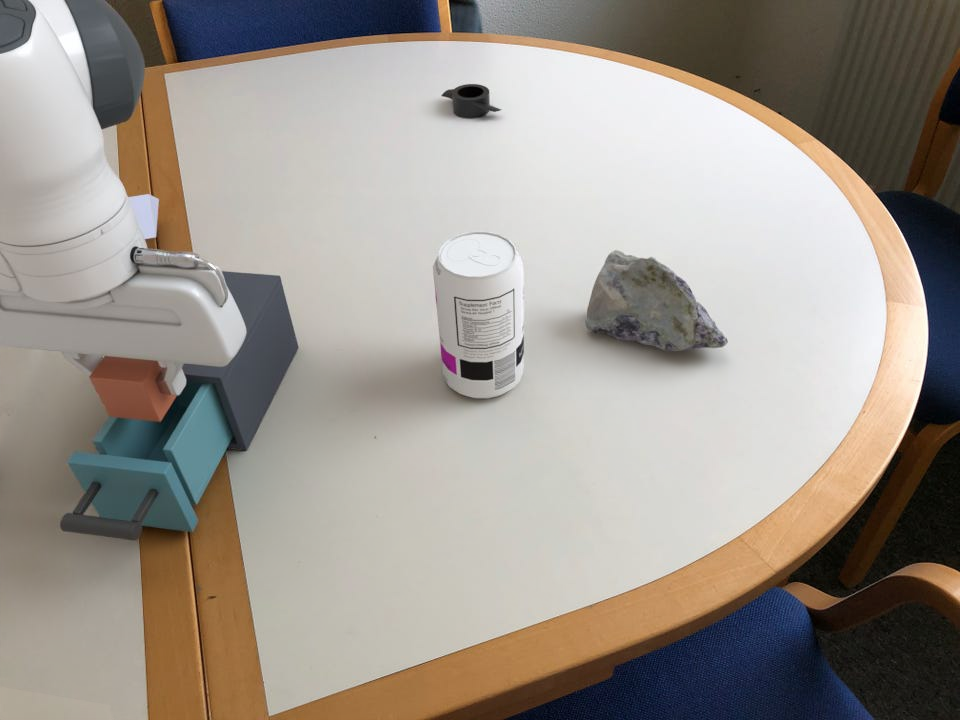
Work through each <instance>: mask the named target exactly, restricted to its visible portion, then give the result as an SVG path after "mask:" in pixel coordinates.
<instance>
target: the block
mask: <svg viewBox="0 0 960 720" xmlns="http://www.w3.org/2000/svg"><path fill="white" fill-rule="evenodd" d="M103 357H104V358H103V359H102V360H101V362H100V363H99V364H98V366H97V367H96V368H95V370H94V371H93V372H92V374H91V375H90V376H89V377H88V379H89V378H90V379H89V380H91V381H90V383H91V382H92V383H91V385H92V384H93V385H92V386H93V388H94V390H95V393H96V394H97V395H98V397H99V399H100V401H101V403H102V405H103V407H104V409H105V411H106V412H107V414H108V417H109V416H110V417H119V418H128V419H138V420H147V421H157V422H161V420H162V419H163V417H164V415H165V414H166V412H167V411H168V409H169V407H170V406H171V404H172V403H173V401H174V399H175V398H176V396H177V395H169V394H162V393H160V390H159V389H160V388H159V387H158V386H157V384H156V382H155V380H156V378H157V377H158V375H159V374H160V373H161V371H162V369H163V368H164V367H160V366H159V363H158V361H154V360H143V359H132V358H122V357H111V356H103Z"/></svg>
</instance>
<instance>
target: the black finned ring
mask: <svg viewBox="0 0 960 720" xmlns="http://www.w3.org/2000/svg"><path fill="white" fill-rule="evenodd" d="M441 97H444V98H448V99H451V103H452V112H453V114H454V115H455V116H457V117H459V118H463V119H476V118H477V119H478V118H481V117H484V116H486V115H487V114H489V113H490V112H493V113H496V112H499V111H502V109H501V108H498V107H495V106H493V105H491V101H490V89H489V88H488V87H487V86H485V85H482V84H480V83H479V84H478V83H468V84H467V83H465V84H462V85H458V86H457V87H455V88H451V89H447V90H445V91H444V92H443V93H442V94H441Z"/></svg>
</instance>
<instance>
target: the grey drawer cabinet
mask: <svg viewBox="0 0 960 720" xmlns="http://www.w3.org/2000/svg"><path fill="white" fill-rule="evenodd" d="M221 272H222V274H223V276H224V279H225V282H226V285H227V287H228V289H229V291H230V293H231V294H232V296H233V298H234V301H235V303H236V305H237V307H238V309H239V311H240V313H241V316H242V318H243V321H244V323H245V326H246V337H245V339H244V342H243V344H242V346H241V347H240V349H239V351H238V352H237V354H236V355H235V357H234V358H233V359H232V360H231V361H230V362H229V364H228V365H226V366H224V367H217V366H207V365H196V364H185V363H184V364H183V367H182V370H183V373H184V375H185V378H186V381H195V382H205V383H215V386H216V388H217V391H218V394H219V396H220V399H221V402H222V405H223V407H224V410H225V413H226V415H227V418H228V421H229V423H230V426H231V429H232V431H233V434H234V436H233V437H232V439H231V441H230V443H229V445H228V447H227V449H230V450H238V451H248V449H249V447H250V445H251V443H252V441H253V440H254V437H255V435H256V433H257V431H258V429H259V427H260V425H261V423H262V421H263V420H264V417H265V415H266V413H267V411H268V410H269V407H270V405H271V404H272V402H273V399H274V398H275V395H276V394H277V392H278V390H279V388H280V385H281V383H282V382H283V380H284V379H285V376H286V374H287V372H288V370H289V368H290V366H291V363H292V362H293V360H294V358H295V355H296V354H297V352H298V350H299V344H298V339H297V336H296V332H295V327H294V325H293V321H292V317H291V313H290V309H289V305H288V301H287V297H286V294H285V290H284V286H283V282H282V277H281V275H278V274H277V275H276V274H265V273H252V272H240V271H239V272H237V271H227V270H225V271H224V270H221Z"/></svg>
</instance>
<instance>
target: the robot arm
mask: <svg viewBox="0 0 960 720" xmlns="http://www.w3.org/2000/svg"><path fill="white" fill-rule="evenodd" d="M145 72H146V64H145V58H144V55H143V52H142V49H141V46H140V44H139V42H138V40H137V38H136V36H135V35H134V32H133V31H132V29H131V28H130V27H129V25H128V24H127V22H126V21H125V19H123V17H122V16H121V15H120V14H119V13H118V11H117V10H116V9H115V8H114V7H112V5H111V4H110V3H109V2H107V1H106V0H0V346H1V347H5V348H17V349H28V350H39V351H48V352H59V353H60V352H61V354H62V356H63V357H64V359H65V360H67V362H69V363H70V364H72V365H73V366H74V367H76V368H77V369H79V370H80V371H81V372H83V373H84V374H86V376H87V377H88V379H89V380H90V378H89V376H90V375H91V374H92V372H93V371H94V370H95V368H96V367H97V366H98V364H99V363H100V362H101V360H102V359H103V358H104V356H111V357H122V358H132V359H143V360H154V361H158V363H159V366H160V367H164V368H163V369H162V371H161V373H160V374H159V375H158V377H157V378H156V380H155V382H156V384H157V386H158V387H159V388H160V389H159V390H160V393H162V394H169V395H180V394H181V392H182V390H183V389H184V387H185V386H186V378H185V375H184V373H183V370H182V367H183V364H184V363H185V364H196V365H207V366H217V367H224V366H226V365H228V364H229V362H230V361H231V360H232V359H233V358H234V357H235V355H236V354H237V352H238V351H239V349H240V347H241V346H242V344H243V342H244V339H245V337H246V326H245V323H244V321H243V318H242V316H241V313H240V311H239V309H238V307H237V305H236V303H235V301H234V298H233V296H232V294H231V293H230V291H229V289H228V287H227V285H226V282H225V279H224V276H223V274H222V272H221V271H222V270H221V269H220V267H219V266H217V265H214V264H212V263H211V262H210V261H208V260H206V259H204V258H200V256H199V254H198V253H196V252H192V251H187V250H178V251H169V250H164V249H160V248H159V249H158V248H148V244H147V241H146V239H144V236H143V234H142V231H141V229H140V226H139V223H138V221H137V219H136V216H135V214H134V211H133V208H132V206H131V203H130V201H129V198H128V197H129V196H128V194H127V191H126V189H125V185H124V184H123V182H122V181H121V179H120V178H119V176H118V175H117V174H116V173H115V172H114V170H113V169H112V167H111V166H110V164H109V162H108V160H107V156H106V152H105V151H106V150H105V139H104V133H103V130H105V129H108V128H111V127H114V126H116V125H120V124H123V123H126V122H127V121H129V120H130V119H131V118H132V116H133V114H134V112H135V110H136V108H137V106H138V103H139V101H140V98H141V94H142V90H143V87H144V81H145ZM90 383H91V385H92V386H93V384H92V382H91V380H90Z"/></svg>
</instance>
